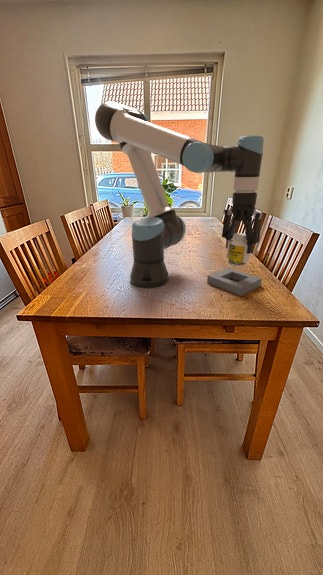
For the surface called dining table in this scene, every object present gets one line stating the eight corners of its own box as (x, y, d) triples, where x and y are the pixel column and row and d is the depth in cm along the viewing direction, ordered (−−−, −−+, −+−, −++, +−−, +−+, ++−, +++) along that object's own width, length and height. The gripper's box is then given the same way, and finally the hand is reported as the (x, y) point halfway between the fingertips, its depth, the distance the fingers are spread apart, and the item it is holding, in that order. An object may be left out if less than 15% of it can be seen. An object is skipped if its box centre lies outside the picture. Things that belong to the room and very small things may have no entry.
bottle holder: (240, 296, 85) (242, 288, 84) (207, 282, 96) (207, 275, 95) (260, 285, 93) (262, 278, 92) (227, 274, 103) (228, 267, 102)
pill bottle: (224, 264, 91) (227, 234, 86) (233, 260, 95) (236, 231, 90) (240, 268, 87) (244, 237, 82) (248, 264, 91) (252, 234, 86)
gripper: (279, 192, 76) (267, 263, 86) (227, 189, 89) (222, 251, 99) (267, 193, 72) (255, 268, 81) (214, 191, 85) (209, 255, 95)
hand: (237, 259), depth 90 cm, fingers closed on pill bottle, 6 cm apart
